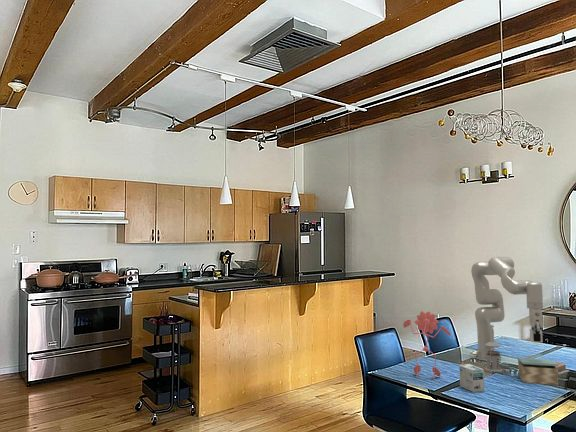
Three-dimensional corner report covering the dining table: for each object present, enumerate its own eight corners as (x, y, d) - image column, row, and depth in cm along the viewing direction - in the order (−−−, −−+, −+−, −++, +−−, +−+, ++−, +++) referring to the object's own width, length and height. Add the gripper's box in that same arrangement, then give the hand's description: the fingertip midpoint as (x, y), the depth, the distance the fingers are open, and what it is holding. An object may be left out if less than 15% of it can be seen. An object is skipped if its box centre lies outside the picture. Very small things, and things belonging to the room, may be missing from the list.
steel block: (531, 341, 239) (531, 330, 239) (529, 339, 244) (529, 328, 244) (542, 342, 237) (542, 330, 238) (540, 340, 242) (540, 329, 242)
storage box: (523, 382, 235) (522, 366, 236) (518, 374, 249) (518, 359, 249) (558, 385, 230) (557, 369, 231) (551, 377, 244) (550, 361, 244)
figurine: (450, 382, 236) (448, 314, 239) (401, 375, 250) (399, 311, 252) (455, 375, 249) (454, 310, 252) (409, 369, 263) (407, 307, 265)
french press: (505, 368, 260) (504, 324, 261) (498, 373, 251) (496, 327, 253) (487, 365, 266) (486, 322, 268) (480, 370, 258) (478, 325, 259)
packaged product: (551, 359, 262) (569, 363, 253) (551, 368, 261) (570, 372, 253) (533, 364, 252) (551, 368, 244) (533, 373, 252) (551, 378, 244)
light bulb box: (485, 391, 223) (484, 368, 223) (473, 392, 221) (472, 370, 221) (470, 384, 233) (469, 363, 234) (459, 386, 231) (458, 364, 232)
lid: (522, 363, 236) (522, 361, 236) (517, 359, 249) (517, 357, 249) (558, 366, 231) (558, 364, 231) (551, 361, 244) (551, 359, 244)
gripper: (546, 308, 232) (547, 344, 231) (539, 303, 248) (540, 337, 248) (530, 307, 235) (531, 343, 234) (523, 303, 251) (525, 336, 250)
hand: (536, 339), depth 241 cm, fingers closed on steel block, 5 cm apart
